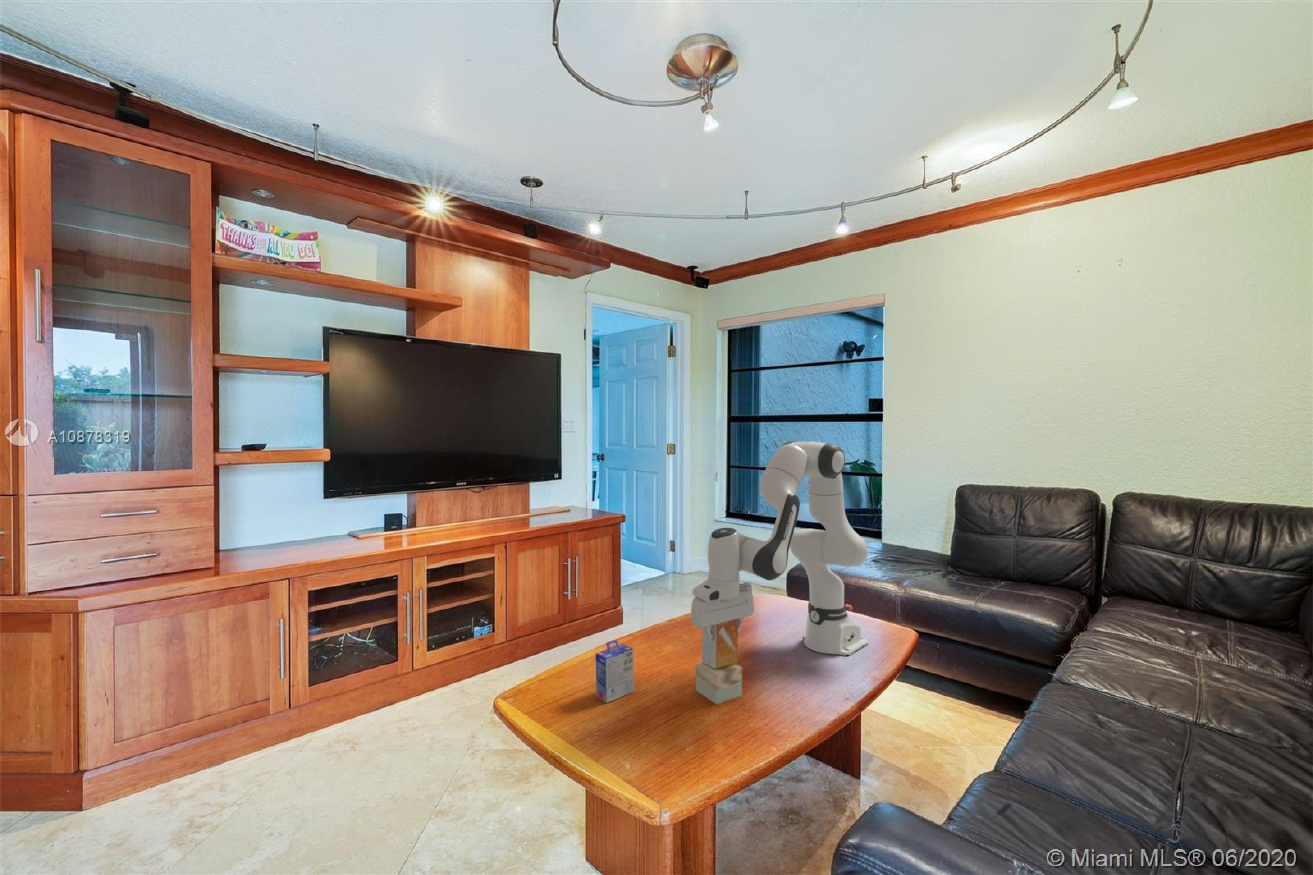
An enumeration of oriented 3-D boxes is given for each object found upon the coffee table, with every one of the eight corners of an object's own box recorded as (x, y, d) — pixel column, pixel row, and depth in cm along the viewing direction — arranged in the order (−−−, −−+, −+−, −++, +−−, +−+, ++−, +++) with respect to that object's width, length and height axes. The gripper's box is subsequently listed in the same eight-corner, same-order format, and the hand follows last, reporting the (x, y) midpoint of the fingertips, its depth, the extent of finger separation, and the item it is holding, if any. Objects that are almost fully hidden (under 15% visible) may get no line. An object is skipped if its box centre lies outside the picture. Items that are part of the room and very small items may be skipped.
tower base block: (720, 683, 159) (721, 669, 159) (741, 696, 151) (741, 682, 151) (696, 691, 154) (696, 677, 154) (716, 705, 146) (716, 690, 146)
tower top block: (719, 669, 159) (719, 655, 159) (741, 681, 152) (741, 667, 152) (695, 677, 154) (696, 663, 154) (717, 690, 146) (717, 675, 146)
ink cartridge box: (622, 684, 157) (622, 634, 157) (635, 692, 153) (635, 640, 152) (594, 696, 150) (594, 644, 150) (606, 704, 146) (606, 650, 146)
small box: (715, 669, 149) (716, 621, 149) (701, 661, 154) (702, 615, 154) (738, 663, 153) (738, 616, 153) (723, 655, 159) (724, 610, 159)
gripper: (744, 578, 160) (744, 625, 161) (687, 590, 149) (687, 640, 150) (759, 584, 155) (758, 632, 156) (701, 597, 144) (701, 648, 145)
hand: (723, 636), depth 153 cm, fingers open, 8 cm apart
